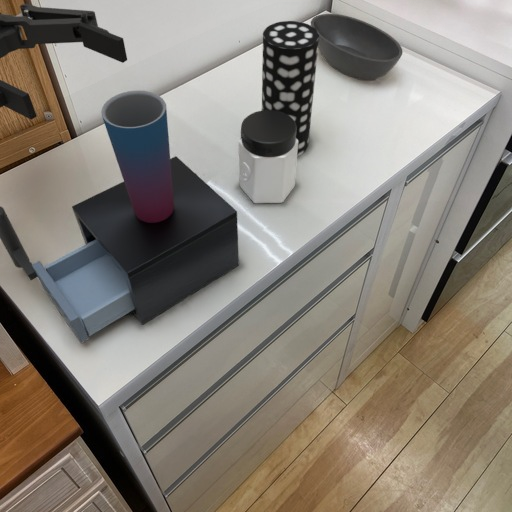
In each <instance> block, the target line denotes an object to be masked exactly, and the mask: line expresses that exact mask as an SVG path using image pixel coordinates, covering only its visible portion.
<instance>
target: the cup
mask: <svg viewBox="0 0 512 512" xmlns="http://www.w3.org/2000/svg"><path fill="white" fill-rule="evenodd" d="M101 117H102V118H101V119H102V121H103V123H104V127H105V129H106V133H107V135H108V138H109V141H110V144H111V147H112V150H113V153H114V155H115V158H116V161H117V164H118V168H119V171H120V173H121V176H122V179H123V180H122V181H123V182H124V183H125V186H126V189H127V192H128V195H129V198H130V201H131V204H132V206H133V209H134V212H135V215H136V216H137V218H138V219H140V220H142V221H144V222H148V223H156V222H160V221H163V220H165V219H167V218H168V217H169V216H170V215H171V214H172V212H173V210H174V201H173V188H172V175H171V162H170V159H171V152H170V150H171V149H170V138H169V137H170V136H169V125H168V111H167V103H166V102H165V100H164V98H162V96H160V94H159V95H158V94H157V93H155V92H152V91H148V90H128V91H124V92H120V93H118V94H115V95H114V96H112V97H110V98H109V99H108V100H107V101H105V103H104V104H103V105H102V107H101Z"/></svg>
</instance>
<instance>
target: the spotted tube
mask: <svg viewBox="0 0 512 512" xmlns="http://www.w3.org/2000/svg"><path fill="white" fill-rule="evenodd" d="M318 43H319V33H318V31H317V30H316V29H315V28H314V27H312V26H311V24H308V23H306V22H302V21H294V20H284V21H283V20H281V21H277V22H274V23H271V24H269V25H268V26H267V27H266V28H264V29H263V31H262V64H261V65H262V68H261V70H262V71H261V73H262V74H261V111H263V110H274V111H279V112H282V113H285V114H287V115H289V116H290V117H291V118H292V119H293V120H294V121H295V123H296V127H297V130H296V139H297V140H298V152H297V157H299V156H301V155H303V154H305V152H306V151H307V150H308V147H309V142H310V131H311V124H312V123H311V121H312V111H313V102H314V101H313V100H314V92H315V81H316V72H317V61H318V53H319V52H318V51H319V49H318Z"/></svg>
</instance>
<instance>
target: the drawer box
mask: <svg viewBox="0 0 512 512" xmlns="http://www.w3.org/2000/svg"><path fill="white" fill-rule="evenodd" d="M170 162H171V175H172V188H173V201H174V210H173V212H172V214H171V215H170V216H169V217H168V218H167V219H165V220H163V221H160V222H156V223H148V222H144V221H142V220H140V219H138V218H137V216H136V215H135V212H134V209H133V206H132V204H131V201H130V198H129V195H128V192H127V189H126V186H125V183H124V181H122V182H120V183H118V184H116V185H114V186H112V187H109V188H106V189H105V190H103V191H101V192H99V193H97V194H95V195H93V196H91V197H88V198H86V199H84V200H82V201H80V202H78V203H76V204H74V205H72V206H71V209H72V211H73V214H74V216H75V220H76V223H77V225H78V227H79V230H80V233H81V236H82V238H83V242H84V245H86V244H88V243H90V242H92V241H94V240H95V239H97V241H98V242H99V243H100V244H101V246H102V247H103V248H104V249H105V250H106V252H107V253H108V254H109V255H110V256H111V258H112V259H113V260H114V261H115V263H116V264H117V265H118V266H119V267H120V269H121V270H122V271H123V272H124V275H125V278H126V282H127V285H128V288H129V292H130V295H131V298H132V302H133V305H134V308H135V309H134V310H132V311H131V313H132V314H133V315H134V317H135V318H136V319H137V320H138V322H139V323H140V324H141V325H143V326H144V325H145V324H146V323H148V322H150V321H151V320H153V319H155V318H156V317H158V316H159V315H161V314H163V313H165V312H166V311H168V310H170V309H171V308H172V307H174V306H176V305H177V304H179V303H180V302H182V301H184V300H185V299H188V298H189V297H190V296H192V295H193V294H195V293H196V292H198V291H200V290H202V289H204V288H205V287H207V286H209V284H211V283H213V282H214V281H216V280H217V279H219V278H221V277H222V276H225V275H226V274H228V273H229V272H231V271H233V270H234V269H235V268H237V267H239V266H240V262H239V261H240V260H239V258H240V257H239V231H238V230H239V229H238V211H237V210H236V209H235V208H234V207H233V206H232V205H230V204H229V202H227V200H226V199H224V198H223V197H222V196H221V195H220V194H219V193H217V192H216V191H215V190H214V189H213V188H212V187H211V186H210V185H208V183H206V182H205V181H204V180H203V179H202V178H201V177H200V176H199V175H197V173H195V172H194V171H193V170H192V168H190V167H189V166H188V165H187V164H186V163H184V161H182V159H180V158H179V157H178V156H176V155H175V156H173V157H170Z"/></svg>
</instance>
